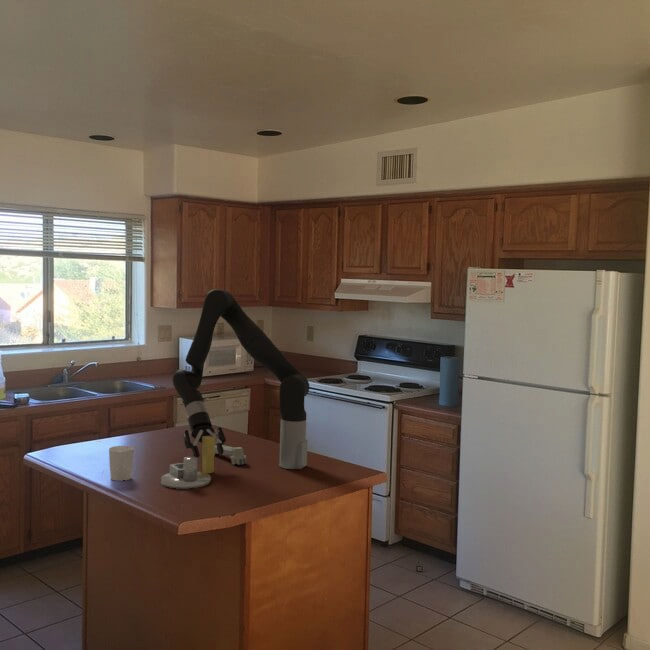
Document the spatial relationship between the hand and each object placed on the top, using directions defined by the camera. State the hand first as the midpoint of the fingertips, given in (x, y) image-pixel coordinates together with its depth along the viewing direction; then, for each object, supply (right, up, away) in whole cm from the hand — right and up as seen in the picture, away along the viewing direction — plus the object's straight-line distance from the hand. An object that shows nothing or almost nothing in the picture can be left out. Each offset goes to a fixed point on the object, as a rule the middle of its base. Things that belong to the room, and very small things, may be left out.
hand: (209, 455), depth 240 cm
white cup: (-28, -6, -10) cm, 30 cm away
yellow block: (-1, -6, +1) cm, 6 cm away
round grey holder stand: (-6, -6, -11) cm, 14 cm away
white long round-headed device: (+2, -5, +21) cm, 22 cm away
